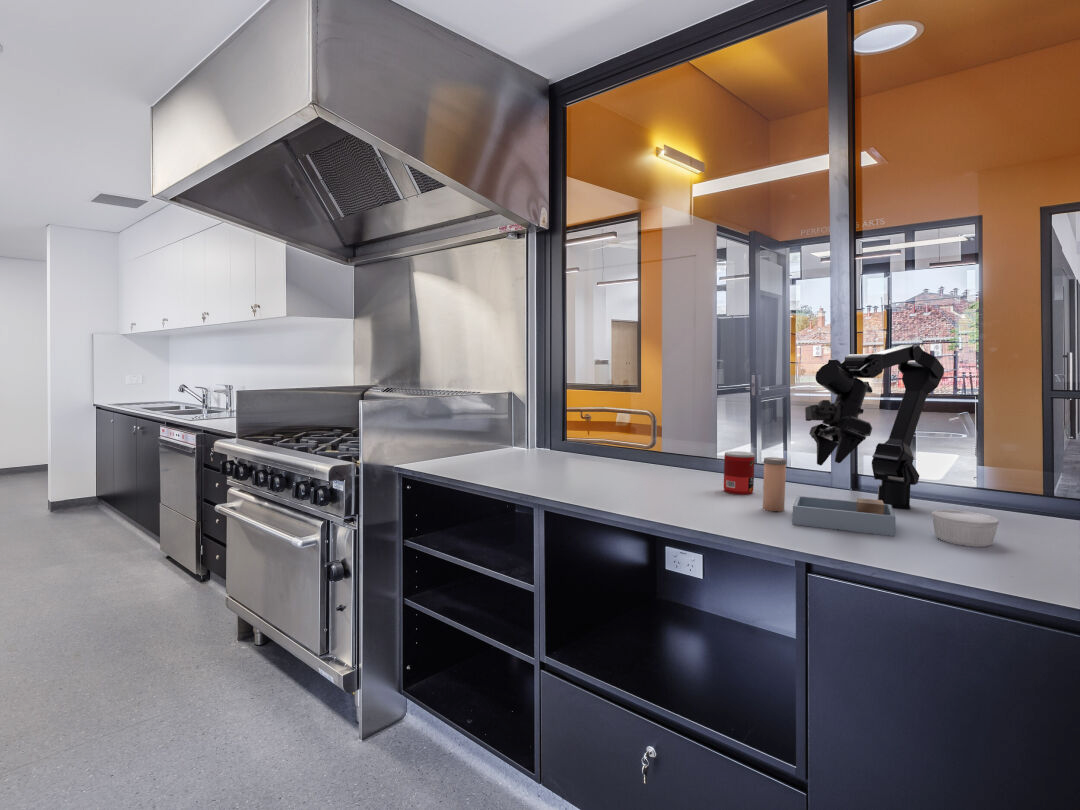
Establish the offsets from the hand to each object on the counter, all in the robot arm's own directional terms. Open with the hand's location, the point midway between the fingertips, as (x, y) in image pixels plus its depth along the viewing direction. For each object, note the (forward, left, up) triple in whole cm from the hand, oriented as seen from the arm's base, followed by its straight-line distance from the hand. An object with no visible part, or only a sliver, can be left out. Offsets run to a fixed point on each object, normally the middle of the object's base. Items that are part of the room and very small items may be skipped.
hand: (827, 463), depth 139 cm
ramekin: (-25, +9, -13) cm, 30 cm away
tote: (-3, +6, -12) cm, 14 cm away
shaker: (+12, -1, -12) cm, 17 cm away
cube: (-9, +6, -12) cm, 16 cm away
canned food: (+23, -19, -13) cm, 32 cm away
